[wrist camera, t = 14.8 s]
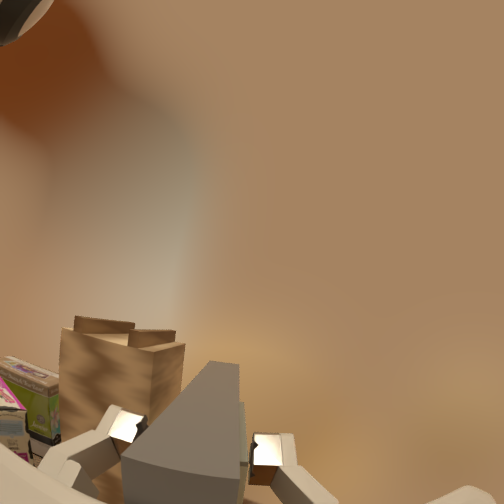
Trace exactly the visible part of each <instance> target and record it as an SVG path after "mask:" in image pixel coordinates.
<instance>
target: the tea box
mask: <svg viewBox="0 0 504 504" xmlns="http://www.w3.org/2000/svg"><path fill="white" fill-rule="evenodd" d="M0 376H1V378H2V379H3V380H4V382H5V383H6V385H7V386H8V387H9V389H10V390H11V391H12V393H13V394H14V395H15V396H16V398H17V399H18V400H19V401H20V402H21V404H22V405H23V406H24V407H25V408H26V410H27V418H28V427H29V435H30V442H31V448H32V452H33V453H35V454H37V455H39V456H42V457H44V456H45V455H46V453H47V452H48V450H49V449H50V448H51V447H53V446H56V445H58V444H60V443H62V441H61V431H60V417H59V373H56V372H52V371H50V370H47V369H44V368H42V367H39V366H37V365H34V364H32V363H29V362H27V361H24V360H22V359H19V358H17V357H15V356H9V357H0Z"/></svg>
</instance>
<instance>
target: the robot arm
mask: <svg viewBox="0 0 504 504" xmlns="http://www.w3.org/2000/svg"><path fill="white" fill-rule="evenodd" d="M53 1H54V0H0V46H5V45H7V44H9V43H11V42H13V41H15V40H17V39H19V38H20V37H21V36H22V35H23V34H24V33H25V32H26V31H27V30H28V29H30V28H31V27H32V26H33V25H34V24H35V23H36V22H38V20H39V19H40V18H41V17H42V16H43V15H44V14H45V12H46V11H47V10H48V9H49V7H50V6H51V4H52V2H53ZM147 421H148V418H147V415H145V414H141V413H138V412H134V411H131V410H128V409H125V408H122V407H119V406H116V405H111V406H109V408H108V409H107V411H106V413H105V414H104V416H103V418H102V420H101V421H100V423H99V425H98V426H97V428H96V430H90V431H88V432H86V433H83V434H81V435H79V436H77V437H74V438H72V439H70V440H67V441H65V442H63V443H60V444H58V445H56V446H53V447H51V448H50V449H49V450H48V452H47V453H46V455H45V456H44V458H43V460H42V461H41V463H40V464H39V466H38V468H36V467H34V466H33V465H31V464H30V463H28V462H27V461H25V460H24V459H22V458H21V457H19V456H18V455H16V454H15V453H14V452H12V451H11V450H10V449H8V448H7V447H6V446H4V445H3V444H2V443H0V504H107V503H104V502H102V501H99V500H97V497H98V494H99V490H98V489H97V487H96V486H95V485H94V483H93V482H92V480H93V479H95V478H96V477H98V476H99V475H101V474H102V473H104V472H105V471H107V470H108V469H110V468H111V467H113V466H114V465H116V464H117V463H119V462H120V461H121V456H120V455H121V454H122V453H123V452H124V451H125V450H126V449H127V448H128V447H129V446H130V445H131V444H132V443H133V442H134V441H135V440H136V439H137V438H138V437H139V436H140V435H141V434H142V433H143V432H144V431H145V430H146V429H147V428H148V427H149V426H148V425H147ZM249 464H250V468H249V480H248V484H249V485H263V486H270V487H271V489H272V490H273V492H274V493H275V494H276V496H277V497H278V498H279V499H280V501H281V502H282V503H283V504H339V501H338V500H337V499H336V498H335V497H334V496H333V495H332V494H330V493H329V492H328V491H327V490H326V489H325V488H324V487H323V486H322V485H321V484H320V483H319V482H318V481H317V480H315V479H314V478H313V477H312V476H311V475H310V474H309V473H308V472H307V471H306V470H305V469H304V468H303V467H302V466H298V464H297V456H296V448H295V440H294V435H293V434H285V433H281V434H279V433H262V432H254V433H253V437H252V443H251V446H250V453H249ZM426 504H496V502H495V500H494V498H493V497H492V496H491V495H490V494H489V493H487V492H485V491H483V490H481V489H478V488H476V487H473V486H470V485H467V486H463V487H461V488H459V489H457V490H455V491H453V492H451V493H449V494H446V495H444V496H442V497H440V498H438V499H435V500H433V501H430V502H428V503H426Z"/></svg>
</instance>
